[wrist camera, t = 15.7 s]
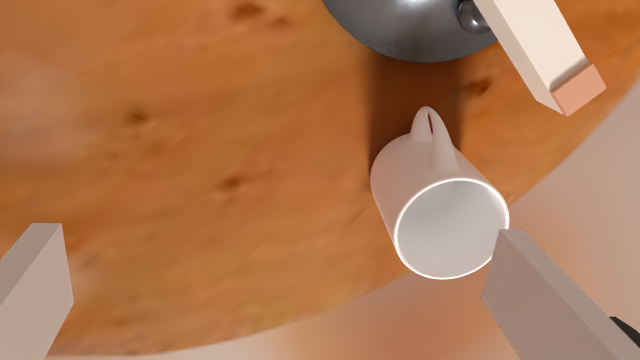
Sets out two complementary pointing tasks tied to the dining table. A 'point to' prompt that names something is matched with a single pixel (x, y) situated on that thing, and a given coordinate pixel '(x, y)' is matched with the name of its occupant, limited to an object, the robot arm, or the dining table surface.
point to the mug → (436, 202)
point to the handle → (542, 51)
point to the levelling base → (414, 27)
